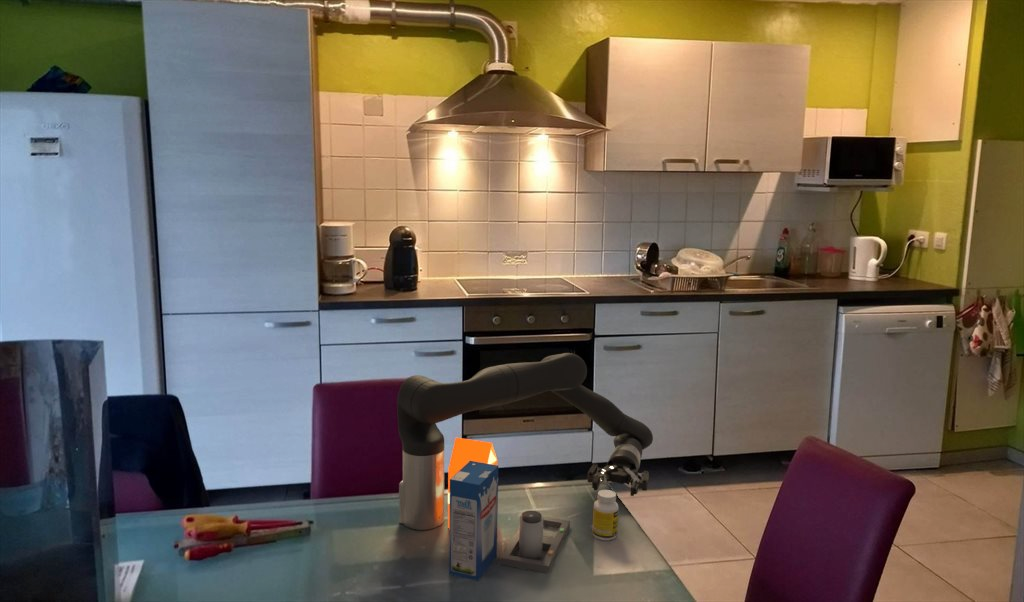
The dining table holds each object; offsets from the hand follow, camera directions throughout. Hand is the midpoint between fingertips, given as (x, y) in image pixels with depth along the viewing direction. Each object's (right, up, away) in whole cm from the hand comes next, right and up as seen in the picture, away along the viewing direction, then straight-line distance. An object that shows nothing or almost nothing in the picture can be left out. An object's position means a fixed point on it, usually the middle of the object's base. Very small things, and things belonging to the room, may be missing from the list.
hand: (613, 489), depth 173 cm
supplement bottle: (-3, -8, -9) cm, 12 cm away
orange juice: (-32, -7, -6) cm, 34 cm away
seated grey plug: (-20, -9, -19) cm, 29 cm away
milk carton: (-31, -10, -22) cm, 40 cm away
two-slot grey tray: (-18, -8, -14) cm, 24 cm away
